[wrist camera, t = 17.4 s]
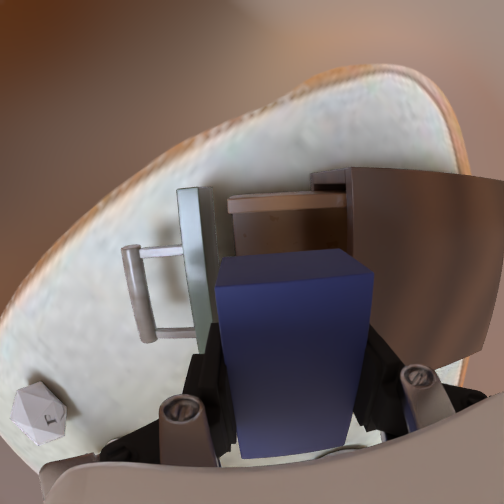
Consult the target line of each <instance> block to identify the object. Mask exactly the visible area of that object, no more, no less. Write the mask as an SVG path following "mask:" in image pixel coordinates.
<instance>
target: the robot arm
mask: <svg viewBox="0 0 504 504" xmlns="http://www.w3.org/2000/svg"><path fill="white" fill-rule="evenodd" d="M353 412H354V414H355V417H356V419H357V421H358V423H359V425H360V426H363V425H364V428H365V430H366V432H369V431H373V430H376V429H377V430H380V431H381V433H380V435H381V441H382V443H380V444H377V445H373V446H370V447H366V448H363V449H359V450H355V451H351V452H347V453H343V454H338V455H334V456H329V457H324V458H319V459H313V460H307V461H301V462H294V463H286V464H277V465H267V466H253V467H222V466H221V462H220V458H219V457H221V456H222V455H224V454H225V453H226V452H231V444H236V420H235V415H234V409H233V403H232V397H231V391H230V385H229V379H228V372H227V366H226V365H225V362H224V355H223V349H222V342H221V335H220V328H219V322H217V323H211V324H210V329H209V334H208V338H207V343H206V348H205V353H204V354H193V355H192V358H191V361H190V365H189V369H188V373H187V377H186V381H185V384H184V388H183V392H182V394H179V395H174V396H172V397H169V398H167V399H166V400H165V401H164V402H163V403H162V404H161V406H160V408H159V419H158V420H156V421H154V422H152V423H150V424H148V425H146V426H144V427H142V428H140V429H138V430H136V431H134V432H132V433H130V434H128V435H126V436H124V437H121V438H117V439H113V440H111V441H109V442H108V443H107V445H106V446H105V447H104V448H103V449H102V450H101V453H100V454H98V455H95V454H94V453H89V454H88V453H86V454H85V455H81V456H77V457H73V458H68V459H63V460H59V461H53V462H49V463H47V464H45V465H44V466H43V467H42V468H41V470H40V472H39V480H40V486H41V491H42V495H43V500H44V502H43V504H504V392H501V393H498V394H495V395H493V396H489V397H487V396H486V395H485V394H483V393H482V392H480V391H477V390H472V389H467V388H462V387H457V386H452V385H448V384H443V383H441V381H440V379H439V377H438V376H437V374H436V372H435V371H434V370H433V369H432V368H431V367H429V366H427V365H424V364H410V365H407V366H405V365H404V363H403V362H402V361H401V360H400V358H399V357H398V356H397V355H396V354H395V352H394V351H393V350H392V349H391V348H390V346H389V345H388V344H387V343H386V341H385V340H384V339H383V338H382V337H381V336H380V335H379V334H378V333H377V332H376V330H375V329H374V328H373V327H372V326H371V324H370V323H369V331H368V338H367V345H366V348H365V353H364V359H363V364H362V370H361V375H360V380H359V385H358V390H357V395H356V399H355V403H354V408H353Z"/></svg>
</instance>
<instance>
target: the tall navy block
mask: <svg viewBox="0 0 504 504" xmlns="http://www.w3.org/2000/svg"><path fill="white" fill-rule="evenodd" d="M373 285H374V272H372V271H371V270H370V269H368V268H367V267H366V266H364V265H363V264H361V263H360V262H359V261H357V260H356V259H354V258H353V257H351V256H350V255H349V254H347V253H346V252H344V251H343V250H341V249H340V248H338V249H325V250H312V251H299V252H286V253H273V254H259V255H246V256H232V257H223V258H222V261H221V265H220V269H219V273H218V276H217V280H216V284H215V288H214V289H215V297H216V305H217V313H218V320H219V328H220V335H221V342H222V349H223V355H224V362H225V365H226V366H227V372H228V379H229V385H230V391H231V397H232V403H233V409H234V415H235V420H236V432H237V438H238V443H239V448H240V453H241V458H242V459H253V458H267V457H278V456H287V455H295V454H302V453H308V452H314V451H320V450H325V449H330V448H335V447H340V446H343V445H344V443H345V440H346V437H347V433H348V429H349V426H350V422H351V418H352V414H353V408H354V403H355V399H356V395H357V390H358V385H359V380H360V375H361V370H362V364H363V359H364V353H365V348H366V345H367V338H368V331H369V323H370V315H371V306H372V296H373Z"/></svg>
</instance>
